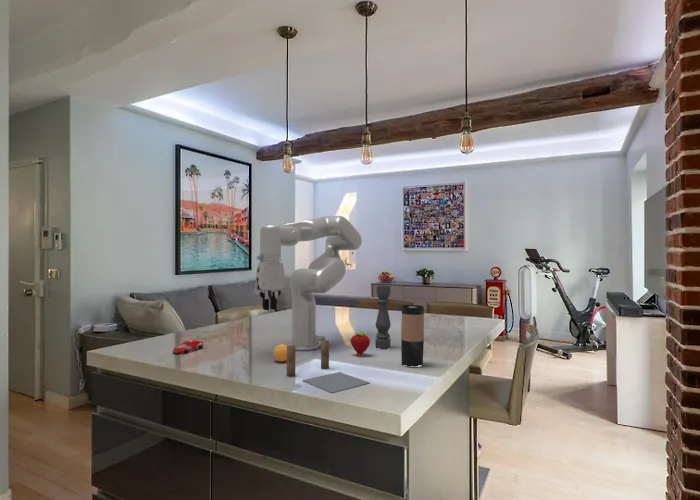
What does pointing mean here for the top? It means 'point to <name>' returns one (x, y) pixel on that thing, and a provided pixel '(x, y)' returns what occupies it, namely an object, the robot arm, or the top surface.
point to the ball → (280, 353)
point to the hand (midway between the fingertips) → (269, 309)
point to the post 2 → (324, 354)
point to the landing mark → (335, 382)
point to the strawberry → (360, 342)
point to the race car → (188, 347)
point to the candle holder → (383, 318)
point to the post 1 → (291, 360)
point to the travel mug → (412, 335)
